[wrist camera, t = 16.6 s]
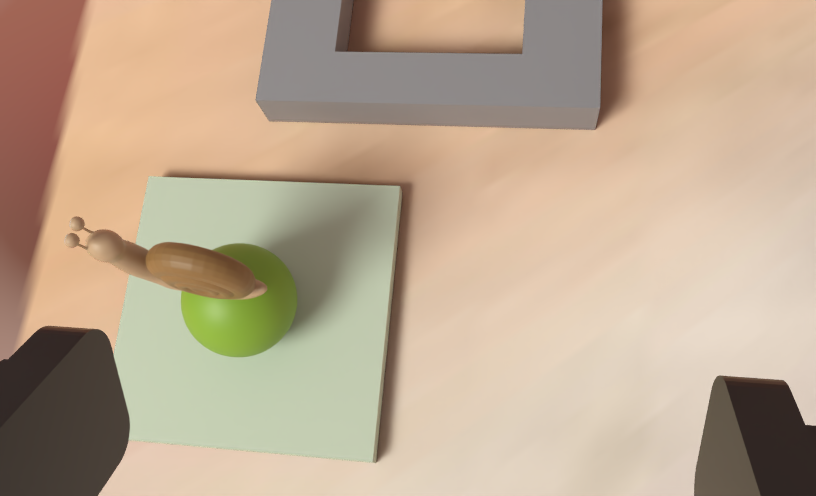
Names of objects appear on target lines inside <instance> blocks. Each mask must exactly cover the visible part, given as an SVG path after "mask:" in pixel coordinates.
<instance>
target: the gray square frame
mask: <svg viewBox="0 0 816 496" xmlns="http://www.w3.org/2000/svg"><path fill="white" fill-rule="evenodd" d="M602 1H603V0H525V16H524V34H523V53H522V54H481V53H404V52H347V49H348V42H349V34H350V26H351V18H352V10H353V2H354V0H271V7H270V13H269V19H268V25H267V32H266V38H265V44H264V50H263V56H262V63H261V69H260V75H259V81H258V88H257V94H256V102H257V103H258V105H259V106H260V108H261V109H262V111H263V112H264V114H265V115H266V117H267V118H268V120H269V121H284V122H321V123H359V124H396V125H434V126H471V127H509V128H546V129H584V130H595V128H596V124H597V119H598V115H599V111H600V92H601V47H602Z"/></svg>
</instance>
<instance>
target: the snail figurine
mask: <svg viewBox="0 0 816 496" xmlns="http://www.w3.org/2000/svg"><path fill="white" fill-rule="evenodd" d="M84 225H85V223H84V220H83V219H82V218H80V217H74V218H72V219H71V221H70V228H71V229H72V230H74V231H80V230H82V229H84V230H85V231H87V232H89V233H91V234H90V235H89V236H88V238H87V239H86V243H85V246H86V247H85V246H83V245H81V244H79V241H80V240H79V237H78V236H77V235H76V234H74V233H70V234H68V235H66V237H65V245H66V246H67V247H70V248H73V247H76V246H77V245H78V246H80V247H82V248H84V249H86V250H87V252H88V253H89V255H90V256H91V257H92V258H94V259H96V260H98V261H101V262H107V263H110V264H112V265H113V266H115V267H116V268H118V269H120V270H122V271H123V272H126V273H128V274H130V275H132V276H135V277H138V278H141V279H144V280H147V281H150V282H153V283H156V284H159V285H161V286H164V287H166V288H169V289H173V290H179V291H182V292H181V311H182V315H183V319H184V321H185V324H186V326H187V328H188V330H189V331H190V333H191V334H192V335H193V337H194V338H195V339H196V340H197V341H198V342H199V343H200V344H201V345H203V346H204V347H205V348H207V349H209V350H210V351H212V352H215V353H217V354H220V355H223V356H228V357H249V356H253V355H257V354H260V353H262V352H264V351H266V350H268V349H270V348H271V347H273V346H274V345H275V344H277V343H278V342H279V341H280V340H281V339H282V338H283V337H284V335H285V334H286V333H287V331H288V330H289V328H290V327H291V325H292V322H293V320H294V317H295V314H296V309H297V290H296V285H295V282H294V279H293V277H292V275H291V273H290V271H289V269H288V268H287V266H286V265H285V264H284V263H283V262H282V261H281V260H280V259H279V258H278V257H277V256H276V255H275V254H273V253H272V252H270V251H268V250H266V249H264V248H262V247H259V246H256V245H252V244H246V243H233V244H227V245H223V246H220V247H217V248H215V249H213V250H210V249H207V248H203V247H199V246H194V245H190V244H184V243H177V242H163V243H159V244H156V245H154V246H153V247H152V248H151V249H149V250H147V249H145V248H143V247H141V246H139V245H137V244H134V243H131V242H129V241H126V240H123V239H122V238H121V237H120V236H119V235H118V234H117V233H115V232H113V231H110V230H97V231H95V232H93V231H90V230H88V229H86V228H84Z"/></svg>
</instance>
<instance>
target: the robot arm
mask: <svg viewBox="0 0 816 496" xmlns="http://www.w3.org/2000/svg"><path fill="white" fill-rule="evenodd" d="M129 433H130V418H129V413H128V409H127V405H126V401H125V398H124V394H123V390H122V386H121V382H120V378H119V374H118V371H117V367H116V363H115V359H114V355H113V351H112V347H111V344H110V341H109V339H108V337H107V335H106V334H105V333H104V332H103V331H101V330H99V329H86V328H72V327H58V326H45V327H42V328H40V329H39V330H38V331H36V332H35V333H34V334H33V335H32V336H31V337H30V338H29V339H28V340H27V341H26V342H25V343H24V344H23V345H22V346H21V347H20V348H19V349H18V350H17V351H16V352H15V353H14V354H13V355H12V356H11V357H10V358H9V359H8V360H6V359H4V360H2V361H0V496H98V495H99V493H100V492H101V490H102V489H103V487H104V486H105V484H106V483H107V481H108V480H109V478H110V477H111V475H112V474H113V472H114V471H115V469H116V468H117V466H118V465H119V463H120V461H121V460H122V458H123V456H124V453H125V451H126V448H127V444H128V440H129ZM694 496H816V426H811V425H805V423H804V421H803V418H802V416H801V414H800V411H799V409H798V407H797V404H796V402H795V400H794V397H793V395H792V392H791V390H790V388H789V386H788V384H787V383H786V382H785V381H783V380H773V379H759V378H745V377H731V376H717V377H716V379H715V381H714V383H713V386H712V390H711V395H710V400H709V405H708V410H707V415H706V420H705V425H704V430H703V435H702V440H701V446H700V451H699V456H698V461H697V466H696V472H695V484H694Z"/></svg>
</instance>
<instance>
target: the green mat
mask: <svg viewBox="0 0 816 496" xmlns="http://www.w3.org/2000/svg"><path fill="white" fill-rule="evenodd" d="M401 203H402V190H401V188H400V186H387V185H361V184H335V183H309V182H283V181H257V180H231V179H205V178H179V177H153V176H149V178H148V183H147V188H146V193H145V198H144V203H143V208H142V213H141V218H140V223H139V229H138V234H137V239H136V244H137V245H139V246H141V247H143V248H145V249H147V250H149V249H151V248H152V247H153V246H154V245H156V244H159V243H163V242H177V243H184V244H190V245H194V246H199V247H203V248H207V249H210V250H213V249H215V248H217V247H220V246H223V245H227V244H233V243H246V244H252V245H256V246H259V247H262V248H264V249H266V250H268V251H270V252H272V253H273V254H275V255H276V256H277V257H278V258H279V259H280V260H281V261H282V262H283V263H284V264H285V265H286V266H287V268H288V269H289V271H290V273H291V275H292V277H293V279H294V282H295V285H296V290H297V309H296V314H295V317H294V320H293V322H292V325H291V327H290V328H289V330H288V331H287V333H286V334H285V335H284V337H283V338H282V339H281V340H280V341H279V342H278V343H277V344H275V345H274V346H273V347H271V348H270V349H268V350H266V351H264V352H262V353H260V354H257V355H253V356H249V357H228V356H223V355H220V354H217V353H215V352H212V351H210V350H209V349H207V348H205V347H204V346H203V345H201V344H200V343H199V342H198V341H197V340H196V339H195V338H194V337H193V335H192V334H191V333H190V331H189V330H188V328H187V326H186V324H185V321H184V319H183V315H182V311H181V292H182V291H179V290H173V289H169V288H166V287H164V286H161V285H159V284H156V283H153V282H150V281H147V280H144V279H141V278H138V277H135V276H132V275H130V274H129V279H128V284H127V289H126V294H125V300H124V305H123V310H122V315H121V320H120V325H119V330H118V335H117V340H116V345H115V350H114V359H115V363H116V367H117V371H118V374H119V378H120V382H121V386H122V390H123V394H124V398H125V401H126V405H127V409H128V413H129V418H130V433H129V440H133V441H144V442H154V443H165V444H176V445H187V446H198V447H209V448H220V449H231V450H242V451H253V452H264V453H275V454H286V455H297V456H307V457H318V458H329V459H340V460H351V461H362V462H373V463H376V458H377V448H378V438H379V428H380V417H381V407H382V397H383V387H384V377H385V366H386V356H387V346H388V336H389V325H390V315H391V305H392V295H393V284H394V274H395V264H396V254H397V244H398V233H399V223H400V213H401Z"/></svg>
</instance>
